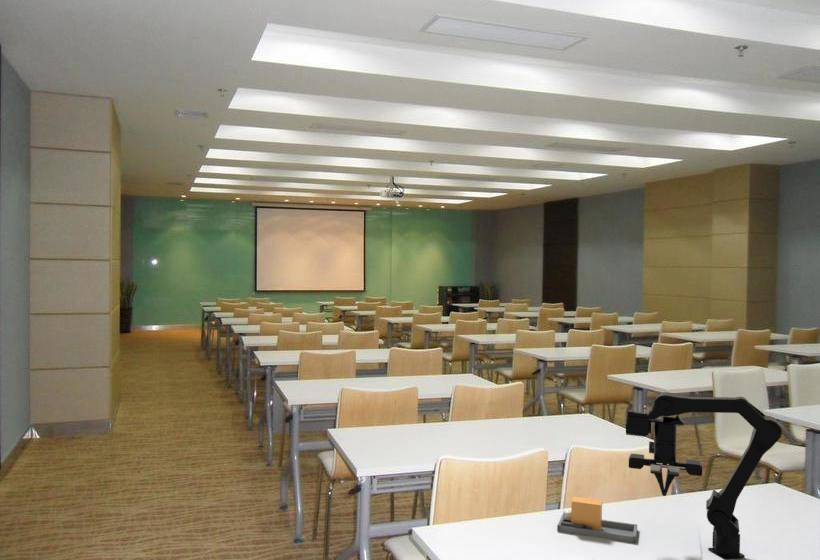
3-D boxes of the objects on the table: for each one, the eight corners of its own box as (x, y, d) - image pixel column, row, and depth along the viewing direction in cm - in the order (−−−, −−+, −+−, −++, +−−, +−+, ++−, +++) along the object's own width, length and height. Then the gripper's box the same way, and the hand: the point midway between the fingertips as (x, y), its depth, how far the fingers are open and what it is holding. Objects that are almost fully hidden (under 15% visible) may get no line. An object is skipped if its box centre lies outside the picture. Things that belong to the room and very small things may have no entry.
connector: (601, 528, 190) (602, 500, 190) (600, 533, 186) (600, 505, 186) (564, 522, 194) (564, 495, 194) (562, 528, 189) (562, 500, 189)
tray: (637, 533, 189) (637, 522, 189) (635, 546, 180) (635, 534, 180) (562, 522, 196) (562, 511, 196) (557, 534, 187) (557, 523, 187)
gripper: (700, 436, 186) (699, 491, 187) (631, 429, 193) (630, 482, 193) (702, 445, 176) (701, 503, 176) (629, 438, 183) (627, 494, 183)
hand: (664, 495), depth 182 cm, fingers closed
